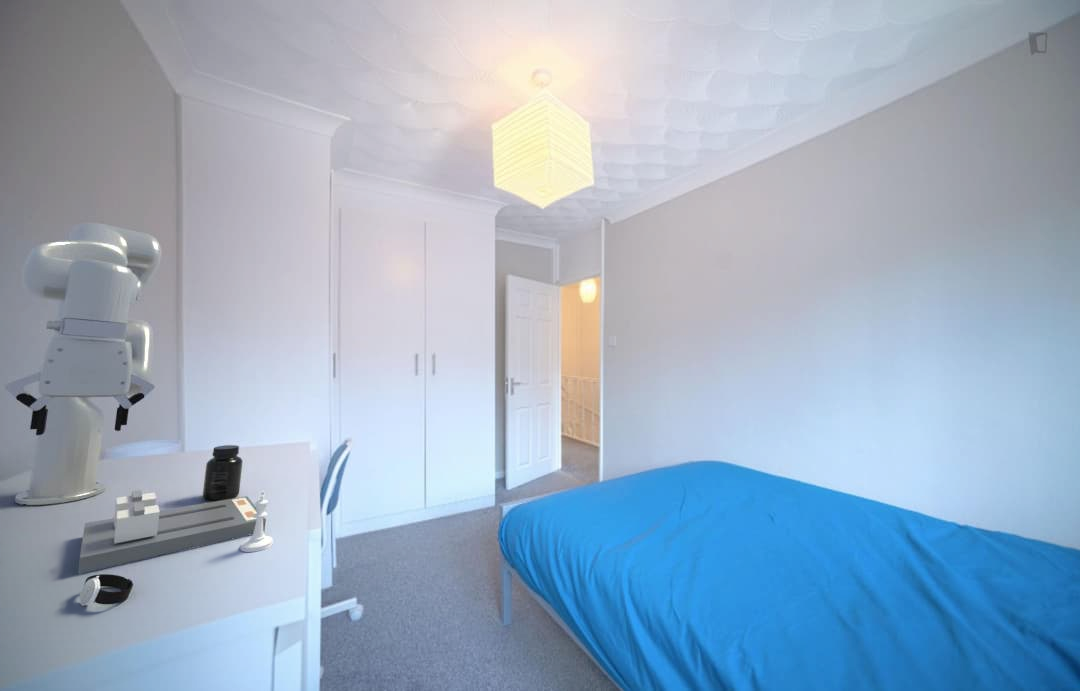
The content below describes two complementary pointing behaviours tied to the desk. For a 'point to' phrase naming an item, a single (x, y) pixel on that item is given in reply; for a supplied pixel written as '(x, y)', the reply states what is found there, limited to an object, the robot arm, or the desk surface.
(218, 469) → the supplement bottle
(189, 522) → the switch panel
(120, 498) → the switch
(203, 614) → the desk surface
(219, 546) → the desk surface
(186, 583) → the desk surface
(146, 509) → the switch
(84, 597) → the watch
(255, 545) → the chess piece
